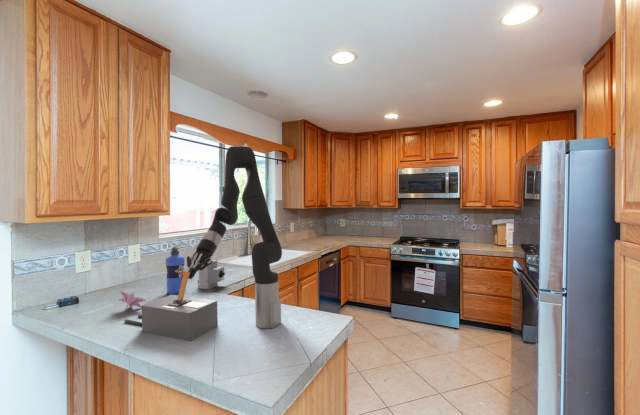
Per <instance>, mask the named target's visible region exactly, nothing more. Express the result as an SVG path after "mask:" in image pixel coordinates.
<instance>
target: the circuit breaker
mask: <svg viewBox="0 0 640 415" xmlns="http://www.w3.org/2000/svg"><path fill="white" fill-rule="evenodd" d="M211 260H212V261H213V262H212V263H211V264H210V265H208V266H207V267H206V268H204V269H203V270H201V271H200V270H199V271H198V279H197V289H201V290H202V289H203V290H204V289H205V290H211V289H214V288H215V287H217V286H219V282H222V281H224V280H225V275H226V272H225V267H224V266H218V260H217V259H211ZM203 266H204V265H203Z"/></svg>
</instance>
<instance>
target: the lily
mask: <svg viewBox="0 0 640 415" xmlns="http://www.w3.org/2000/svg"><path fill="white" fill-rule="evenodd" d="M118 292H119V294H120V295H121V296H122V298H119V299H118V300H117V301H119V302H121V303H123V302H124V303H126V304H127V305H126V307H125V310H124V315H126V312H127V308H128V307H129V308H133V307H134V306H135V307H137V308H140V309H142V305H141V304H140V303H143V302H147V299H145V298H143V297H138V296H137V297H136V296H135V294H134V293H133V292H131V293H127V292H124V291H122V290H118Z"/></svg>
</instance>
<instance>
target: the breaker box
mask: <svg viewBox="0 0 640 415" xmlns="http://www.w3.org/2000/svg"><path fill="white" fill-rule="evenodd" d="M178 295H179V294H178ZM178 295H166V296H164V297H161V298H159V299H156V300H153V301H150V302H148V303H145V304H142V305H141V306H142V308H141V313H139V314H138V315H137V317H138V318H141V321H137V320H132V319H125V320H124V323H126V324H131V325H137V326H141V332H144V333H147V334H153V335H158V336H162V337H166V338H173V339H177V340H183V341H187V342H192V341H194V340H196V339H197V338H199V337H200V336H202V335H204V334H206V333H207V332H209V331H211V330H213V329H214V328H216V327H218V325H219V323H218V319H219V318H218V300H214V299H207V298H200V297H192V296H185V295H184V297H183V300H181V301H180V302H177V299H178Z"/></svg>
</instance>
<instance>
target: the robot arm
mask: <svg viewBox="0 0 640 415" xmlns="http://www.w3.org/2000/svg"><path fill="white" fill-rule="evenodd" d="M256 160H257V159H256V155H255V151H254V150H253V148H251V147H249V146H240V145H234V146H233V145H231V146H229V147H228V148H227V150H226V154H225V164H224V188H223V192H222V197H221V205H222V206H219V207H217V208H216V210H215V212H214V216H213V220H212V223H211V225H210V226H209V228H208V230H207V232H206V233H205V234H204V235H203V237H202V238H201V240H200V241H199V243H198V245H197V246H196V248H195V249H196V251H195V252H194V253H193V254H192V255H191V256H189V255H188V256H186V266H187V267H188V271H187V272H190V275H189V277H188V280H193V278H195V275H196V273H197V272H199V270H200V271H201V270H203V269H204V268H206V267H207V266H208V265H210V264H211V263H212V262H213V261H212V260H213V259H211V258H212V257H213V256H214V254H215V252H216V251H217V249H218V247H219V246H220V244H221V241H222V239H223V237H224V236H225V233H226V232H227V227H226V225H229V226H234V225H235V224H236V223H237V221H238V218H239V217H238V216H239V213H238V212H239V211H238V201H239V197H240V187H239V185H238V183H237V180H236V178H235V171H236V169H245V172H246V183H245V186H244V189H243V192H242V194H241V201H242V205H243V208H244V211H245V214H246V216H247V218H248V219H249V220H250V221H251V222H252V223H253V225H254V226H255V227H256V229H257V230H258V231H259V233H260V236H261V238H262V241H258V242H256V243H255V244H254V245H252V246H253V247H252V250H251V264H252V274H253V278H254V297H255V298H254V300H255V302H254V304H255V308H254V310H255V326H256V327H257V328H259V329H274V328H276V327H277V326H279V324H281V323H282V300H281V298H280V297H279V296H280V295H279V274H278V273H277V272H275V271H272V270H271V264H274V263H278V262H279V261H281V259H282V256H283V255H282V254H283V251H282V246H281V243H280V240H279V238H278V235H277V233H276V230H275V228H274V224H273V221H272V219H271V215H270V212H269V207H268V204H267V200H266V197H265V194H264V190H263V186H262V184H261V179H260V176H259V169H258V165H257V161H256ZM203 265H204V266H203Z"/></svg>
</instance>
